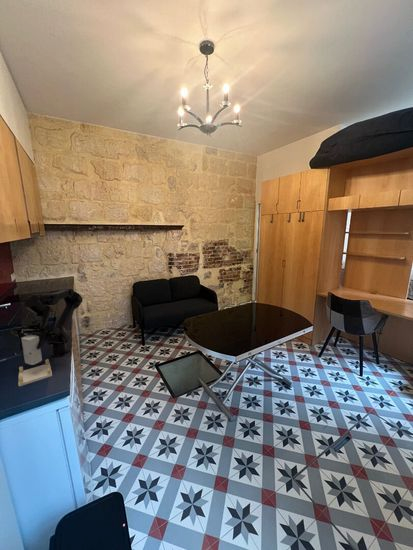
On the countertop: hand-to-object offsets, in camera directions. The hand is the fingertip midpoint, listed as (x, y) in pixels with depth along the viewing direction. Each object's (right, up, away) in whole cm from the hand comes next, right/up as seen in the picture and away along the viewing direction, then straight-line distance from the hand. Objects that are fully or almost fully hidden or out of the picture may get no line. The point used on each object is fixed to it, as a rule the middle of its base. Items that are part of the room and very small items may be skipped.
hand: (29, 349), depth 104 cm
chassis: (0, -13, +3) cm, 13 cm away
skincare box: (0, -7, +3) cm, 7 cm away
